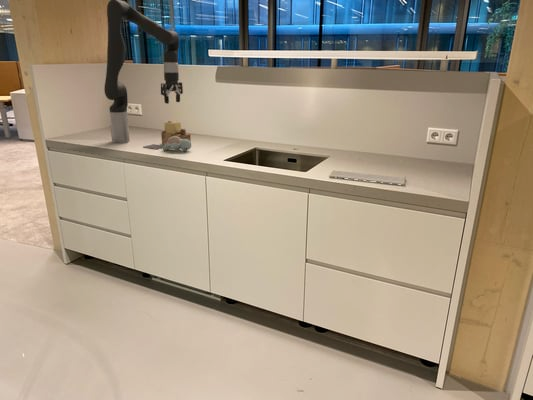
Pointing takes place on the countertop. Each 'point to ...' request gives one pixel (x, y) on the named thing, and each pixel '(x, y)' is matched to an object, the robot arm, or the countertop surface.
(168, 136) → the brown notched block
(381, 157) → the countertop surface
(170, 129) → the olive yellow block
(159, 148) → the mat
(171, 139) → the toy
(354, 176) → the flat grey slab
